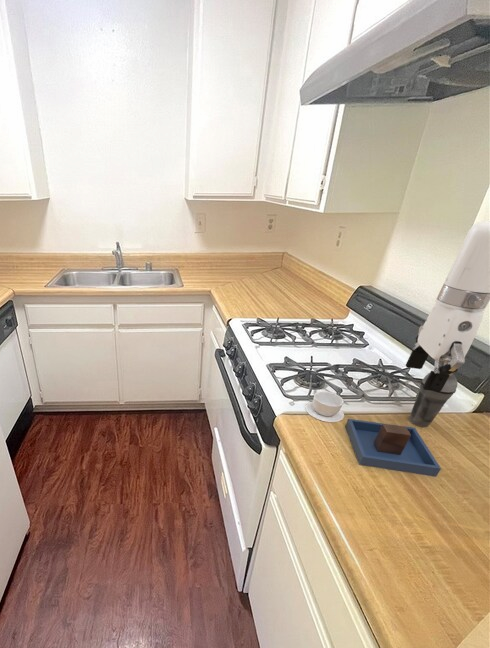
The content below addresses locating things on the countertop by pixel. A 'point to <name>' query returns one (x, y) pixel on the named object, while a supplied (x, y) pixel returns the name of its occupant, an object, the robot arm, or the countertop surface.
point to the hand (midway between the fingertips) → (421, 378)
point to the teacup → (326, 406)
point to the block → (392, 439)
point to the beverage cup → (431, 401)
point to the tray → (410, 460)
